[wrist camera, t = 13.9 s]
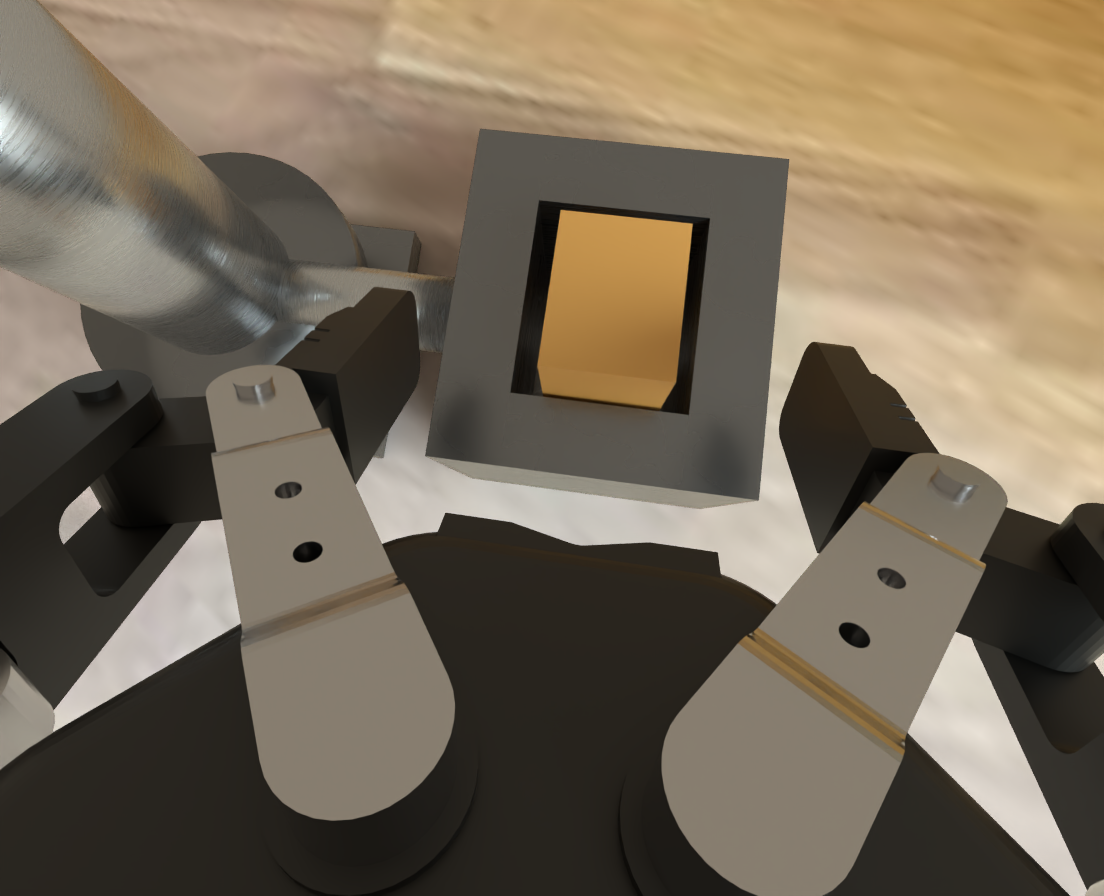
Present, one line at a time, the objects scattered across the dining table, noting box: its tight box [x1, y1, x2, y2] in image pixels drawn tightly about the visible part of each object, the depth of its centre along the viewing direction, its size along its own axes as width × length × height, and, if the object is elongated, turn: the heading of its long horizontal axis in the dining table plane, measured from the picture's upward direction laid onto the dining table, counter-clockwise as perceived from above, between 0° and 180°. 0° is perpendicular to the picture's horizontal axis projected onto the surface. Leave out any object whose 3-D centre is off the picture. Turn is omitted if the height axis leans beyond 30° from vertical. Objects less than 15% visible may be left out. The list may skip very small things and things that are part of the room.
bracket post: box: [0, 0, 789, 509], centre depth 14 cm, size 21×10×18 cm, turn 82°
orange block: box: [537, 210, 693, 411], centre depth 17 cm, size 3×4×8 cm
